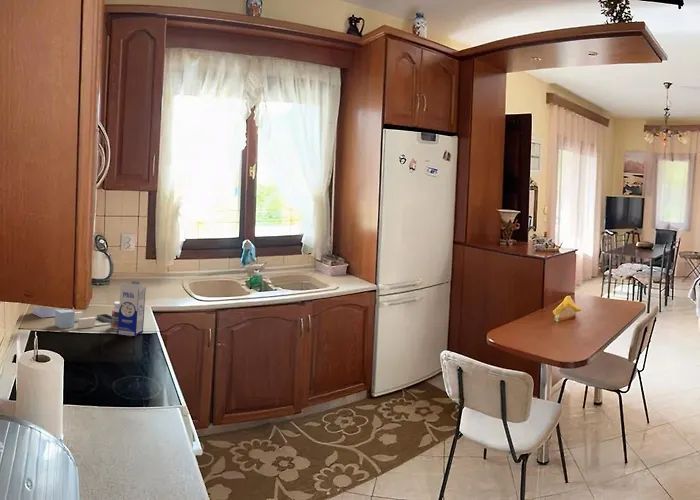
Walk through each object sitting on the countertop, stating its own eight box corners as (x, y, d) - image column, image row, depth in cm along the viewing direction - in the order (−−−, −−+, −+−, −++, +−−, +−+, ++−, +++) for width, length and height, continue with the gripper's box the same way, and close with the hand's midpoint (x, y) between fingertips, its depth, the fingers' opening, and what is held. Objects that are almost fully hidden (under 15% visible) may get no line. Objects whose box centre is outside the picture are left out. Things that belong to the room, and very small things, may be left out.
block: (54, 325, 219) (55, 310, 219) (67, 324, 223) (68, 308, 223) (60, 328, 216) (61, 312, 216) (74, 327, 220) (74, 311, 220)
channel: (65, 321, 226) (65, 313, 225) (96, 318, 235) (96, 310, 235) (79, 328, 219) (79, 319, 218) (110, 324, 228) (111, 315, 228)
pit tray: (96, 318, 235) (97, 314, 235) (106, 317, 238) (106, 313, 238) (110, 324, 229) (110, 320, 228) (119, 323, 232) (120, 319, 232)
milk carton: (117, 334, 215) (120, 281, 213) (125, 330, 222) (128, 279, 220) (135, 337, 215) (138, 283, 213) (143, 332, 222) (146, 281, 220)
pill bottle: (107, 327, 224) (109, 302, 223) (117, 325, 229) (119, 300, 228) (120, 330, 222) (121, 304, 221) (130, 327, 227) (131, 302, 226)
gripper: (28, 269, 203) (27, 307, 205) (70, 268, 214) (68, 304, 216) (20, 266, 208) (18, 303, 209) (61, 265, 219) (59, 300, 220)
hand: (43, 303), depth 213 cm, fingers open, 3 cm apart
